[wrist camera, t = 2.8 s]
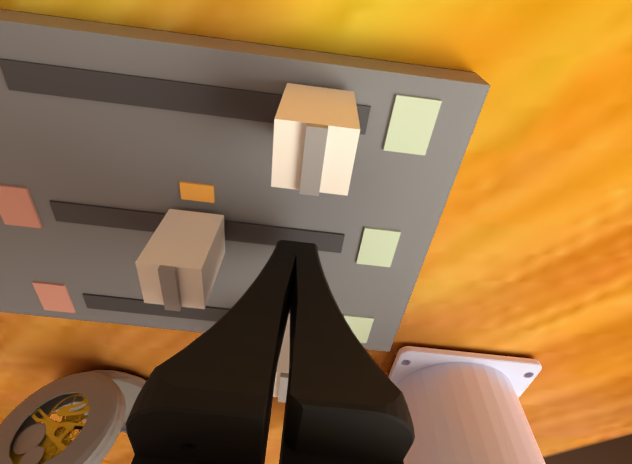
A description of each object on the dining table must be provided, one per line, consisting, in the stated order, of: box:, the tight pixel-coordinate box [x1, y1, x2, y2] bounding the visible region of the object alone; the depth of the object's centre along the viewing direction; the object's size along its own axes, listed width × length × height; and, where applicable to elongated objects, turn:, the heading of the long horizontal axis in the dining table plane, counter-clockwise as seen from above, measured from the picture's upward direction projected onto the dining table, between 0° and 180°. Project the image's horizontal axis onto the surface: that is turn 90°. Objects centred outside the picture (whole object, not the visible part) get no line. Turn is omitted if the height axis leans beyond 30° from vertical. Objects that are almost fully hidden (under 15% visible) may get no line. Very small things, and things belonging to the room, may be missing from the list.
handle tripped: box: [135, 209, 225, 311], centre depth 13 cm, size 2×2×3 cm
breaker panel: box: [0, 9, 490, 352], centre depth 15 cm, size 13×20×2 cm, turn 83°
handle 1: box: [273, 313, 290, 403], centre depth 16 cm, size 2×2×3 cm
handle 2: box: [271, 83, 360, 196], centre depth 10 cm, size 2×2×3 cm
